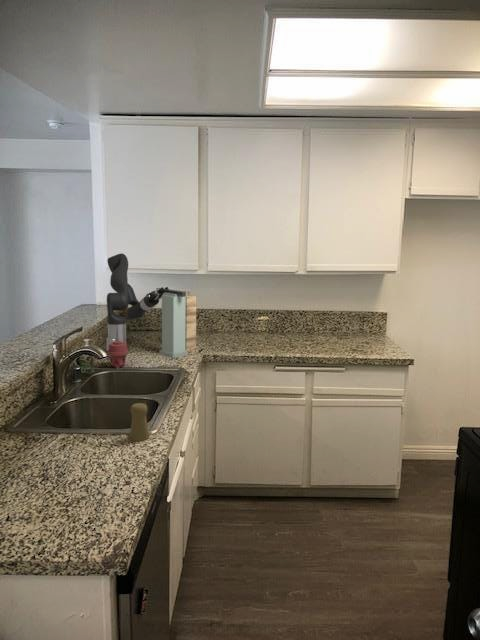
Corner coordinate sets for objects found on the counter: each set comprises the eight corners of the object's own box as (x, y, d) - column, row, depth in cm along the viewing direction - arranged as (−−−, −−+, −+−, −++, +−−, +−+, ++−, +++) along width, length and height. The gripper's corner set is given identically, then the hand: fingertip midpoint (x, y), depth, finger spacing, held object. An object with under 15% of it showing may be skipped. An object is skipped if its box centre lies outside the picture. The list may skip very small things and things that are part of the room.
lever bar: (185, 296, 250) (185, 291, 249) (182, 296, 248) (182, 292, 248) (160, 292, 265) (160, 288, 264) (156, 292, 263) (156, 288, 263)
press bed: (195, 348, 275) (196, 296, 270) (186, 350, 270) (186, 297, 265) (184, 345, 281) (184, 294, 276) (175, 347, 276) (175, 295, 271)
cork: (150, 434, 155) (150, 401, 153) (147, 441, 149) (147, 407, 147) (131, 433, 154) (131, 400, 153) (127, 441, 148) (127, 407, 147)
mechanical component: (119, 370, 226) (102, 367, 230) (133, 366, 235) (117, 363, 239) (118, 345, 224) (102, 342, 228) (132, 341, 233) (116, 338, 237)
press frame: (187, 354, 260) (188, 293, 254) (173, 357, 252) (173, 295, 247) (174, 350, 268) (174, 291, 262) (159, 353, 261) (159, 293, 255)
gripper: (136, 296, 267) (152, 283, 255) (157, 294, 276) (173, 281, 265) (140, 308, 265) (157, 295, 253) (161, 306, 275) (178, 294, 263)
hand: (165, 288), depth 259 cm, fingers closed on lever bar, 2 cm apart
